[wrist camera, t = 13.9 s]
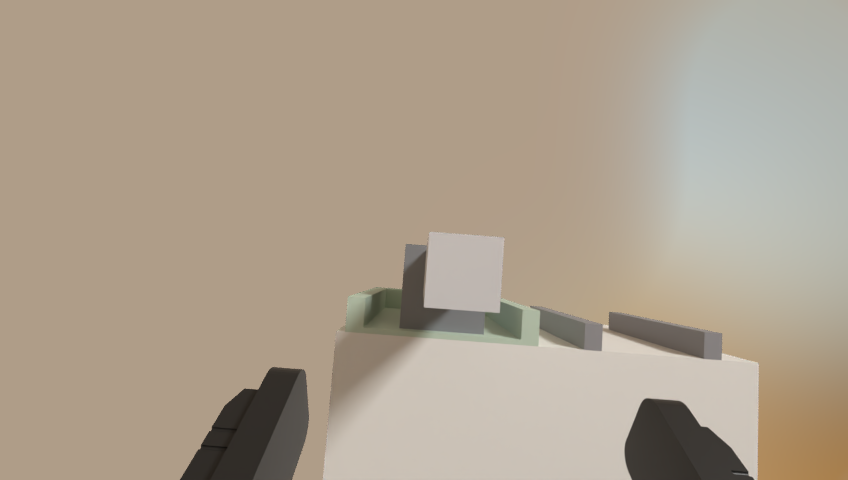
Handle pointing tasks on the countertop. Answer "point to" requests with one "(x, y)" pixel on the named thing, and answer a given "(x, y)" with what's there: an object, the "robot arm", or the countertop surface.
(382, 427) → the cabinet
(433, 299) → the light grey rectangular prism
